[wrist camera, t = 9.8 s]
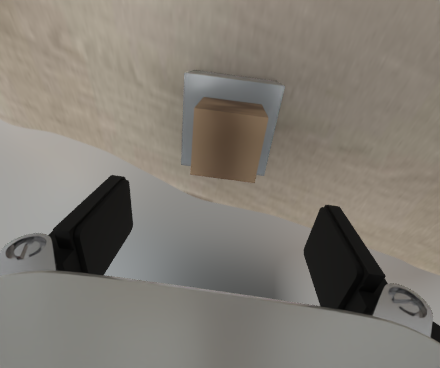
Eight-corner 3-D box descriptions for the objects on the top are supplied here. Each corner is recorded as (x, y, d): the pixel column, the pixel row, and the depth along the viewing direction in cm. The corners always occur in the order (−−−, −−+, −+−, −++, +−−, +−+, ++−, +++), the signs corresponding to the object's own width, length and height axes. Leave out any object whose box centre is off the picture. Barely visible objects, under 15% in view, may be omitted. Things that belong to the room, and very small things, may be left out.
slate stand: (275, 80, 28) (285, 86, 23) (259, 156, 33) (263, 175, 27) (194, 69, 28) (184, 72, 23) (190, 147, 33) (181, 164, 27)
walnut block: (261, 104, 24) (268, 117, 18) (251, 158, 26) (254, 183, 21) (203, 96, 24) (194, 107, 18) (199, 151, 26) (190, 174, 21)
